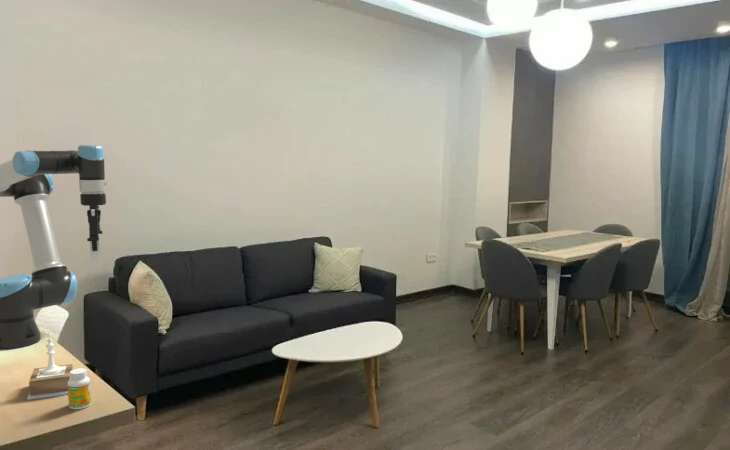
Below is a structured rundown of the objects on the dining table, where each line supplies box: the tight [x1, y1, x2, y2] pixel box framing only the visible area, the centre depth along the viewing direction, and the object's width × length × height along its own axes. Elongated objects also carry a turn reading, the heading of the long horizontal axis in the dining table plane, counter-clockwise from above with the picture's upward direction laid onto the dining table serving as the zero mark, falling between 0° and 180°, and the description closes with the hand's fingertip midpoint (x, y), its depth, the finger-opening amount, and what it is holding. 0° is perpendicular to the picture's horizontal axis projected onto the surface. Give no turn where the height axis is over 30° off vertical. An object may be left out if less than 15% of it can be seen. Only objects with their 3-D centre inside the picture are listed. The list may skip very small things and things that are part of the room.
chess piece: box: [42, 337, 61, 375], centre depth 166 cm, size 5×5×10 cm
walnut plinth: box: [28, 363, 74, 396], centre depth 167 cm, size 10×10×5 cm
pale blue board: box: [27, 368, 75, 401], centre depth 170 cm, size 18×11×1 cm, turn 23°
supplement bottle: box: [67, 367, 92, 410], centre depth 156 cm, size 5×5×10 cm
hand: (96, 257), depth 193 cm, fingers open, 13 cm apart
